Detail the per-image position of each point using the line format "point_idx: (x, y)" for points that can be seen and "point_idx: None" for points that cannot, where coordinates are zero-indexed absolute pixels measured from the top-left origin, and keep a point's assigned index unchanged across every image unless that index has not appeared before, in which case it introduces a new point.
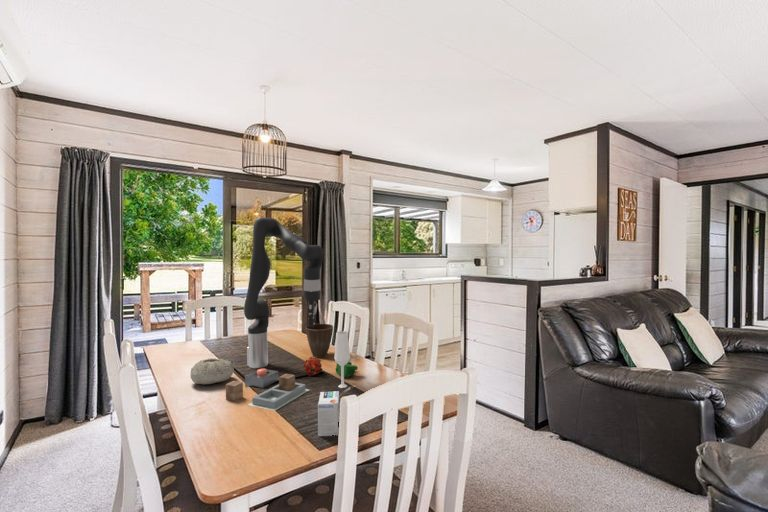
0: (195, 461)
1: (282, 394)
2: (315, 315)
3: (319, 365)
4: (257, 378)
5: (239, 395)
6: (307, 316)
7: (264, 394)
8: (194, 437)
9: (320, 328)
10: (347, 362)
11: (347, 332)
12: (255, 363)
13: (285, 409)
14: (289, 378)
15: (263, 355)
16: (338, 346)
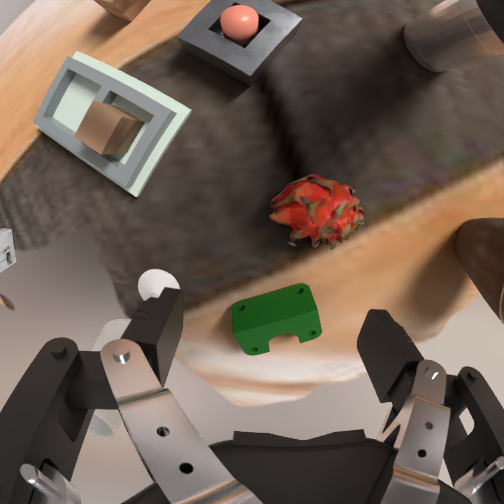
0: None
1: None
2: (379, 396)
3: (311, 238)
4: (193, 20)
5: (116, 12)
6: (50, 350)
7: (84, 76)
8: (12, 31)
9: None
10: None
11: (96, 435)
12: (410, 27)
13: (51, 145)
14: (81, 140)
15: (433, 45)
16: None
